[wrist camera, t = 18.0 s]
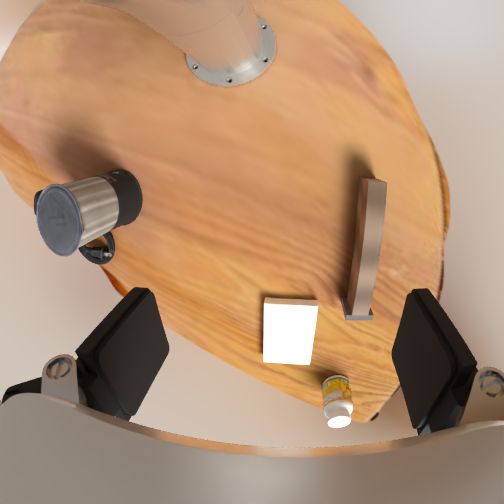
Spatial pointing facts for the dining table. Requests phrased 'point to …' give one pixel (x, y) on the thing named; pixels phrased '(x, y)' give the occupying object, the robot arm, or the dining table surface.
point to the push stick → (365, 249)
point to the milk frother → (87, 213)
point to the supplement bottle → (337, 401)
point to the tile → (289, 330)
